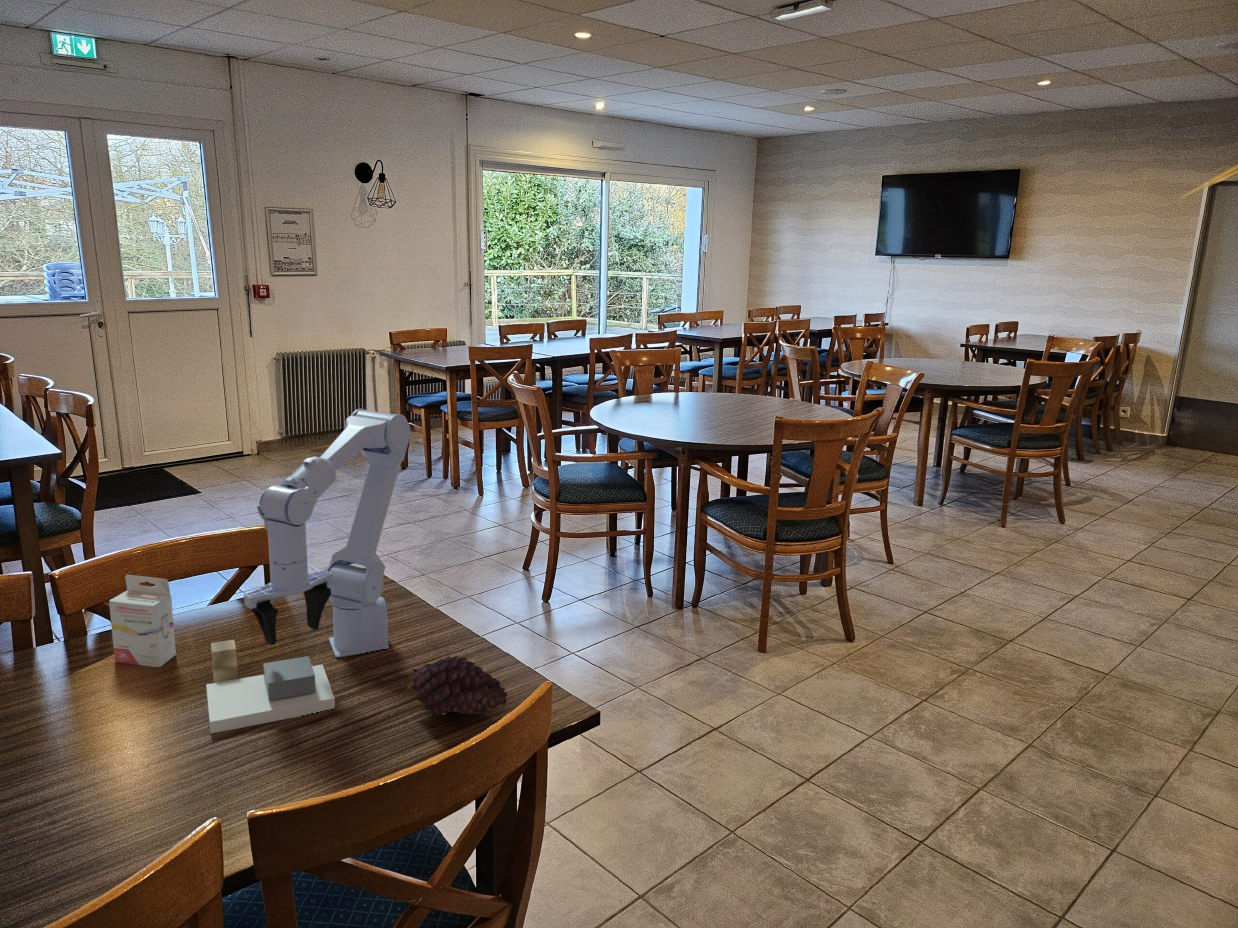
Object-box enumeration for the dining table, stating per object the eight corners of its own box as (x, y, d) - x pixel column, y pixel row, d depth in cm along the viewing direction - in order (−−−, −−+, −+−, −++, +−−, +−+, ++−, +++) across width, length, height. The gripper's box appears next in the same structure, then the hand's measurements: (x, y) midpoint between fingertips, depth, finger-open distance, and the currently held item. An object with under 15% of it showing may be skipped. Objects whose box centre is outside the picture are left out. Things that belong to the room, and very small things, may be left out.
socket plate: (322, 674, 145) (322, 664, 144) (334, 709, 135) (334, 698, 134) (207, 695, 137) (206, 684, 136) (210, 733, 126) (209, 721, 126)
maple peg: (236, 671, 145) (234, 639, 143) (237, 680, 142) (235, 648, 140) (213, 675, 143) (210, 642, 142) (214, 685, 140) (211, 652, 138)
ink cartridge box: (113, 663, 145) (104, 584, 141) (132, 650, 150) (124, 573, 146) (160, 668, 144) (152, 588, 141) (177, 654, 149) (171, 577, 145)
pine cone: (518, 712, 137) (519, 657, 134) (488, 744, 128) (489, 686, 125) (424, 688, 142) (423, 634, 140) (389, 718, 133) (388, 661, 131)
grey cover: (309, 672, 141) (308, 655, 140) (315, 691, 135) (314, 675, 134) (264, 679, 138) (263, 663, 137) (268, 700, 132) (267, 683, 131)
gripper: (315, 541, 144) (318, 614, 148) (232, 562, 133) (237, 641, 137) (338, 552, 140) (341, 627, 143) (255, 575, 129) (260, 655, 132)
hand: (292, 634), depth 140 cm, fingers open, 7 cm apart
